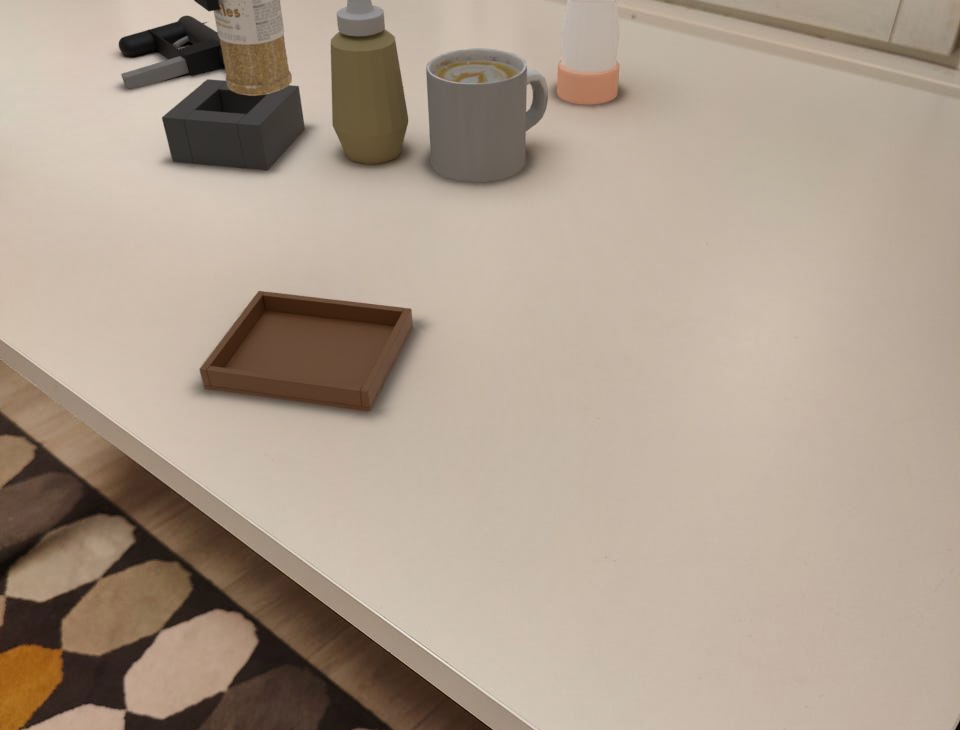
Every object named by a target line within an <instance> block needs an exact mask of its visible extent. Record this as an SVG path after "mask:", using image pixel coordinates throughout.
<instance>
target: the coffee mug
mask: <svg viewBox="0 0 960 730" xmlns="http://www.w3.org/2000/svg"><path fill="white" fill-rule="evenodd" d="M425 70H426V71H425V72H426V73H425V74H426V91H427V109H428V110H427V111H428V131H429V147H430V148H429V149H430V164H431V168H432V170H434V172H435V173H437V174H438V175H440V176H442V177H444V178H446V179H449V180H451V181H452V180H453V181H456V182H463V183H489V182H490V183H491V182H495V181H496V182H497V181H501V180H504V179H507V178H511V177H513V176H514V175H516V174H518V173H519V172H521V171H522V169H524V167H525V165H526V150H527V149H526V146H527V143H526V142H527V132H528V131H529V130H530V129H532V128H534V127H535V126H536V125H537V124H538V123H539V122H540V121H541V120H542V119H543V117H544V115H545V112H546V111H547V107H548V102H549V87H548V84H547V80H546V78H545V76H544V75H543V74H542V73H541V72H540V71H538V70H536V69H533V68H528V66H527V62H526V60H525V59H524V58H522V56H520V55H518V54H515V53H513V52H510V51H507V50H502V49H497V48H496V49H495V48H482V47H481V48H479V47H476V48H475V47H473V48H461V49H455V50H450V51H447V52H444V53H441V54H438V55H436V56H434V57H432V58H431V59H430V60H429V61H428V62H427V64H426V68H425ZM528 85H529V86H531V89H532V90H531V91H532V101H531V104H530V107H529V108H528V110H527V91H528V90H527V88H528V87H527V86H528Z"/></svg>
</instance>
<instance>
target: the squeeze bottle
mask: <svg viewBox="0 0 960 730" xmlns="http://www.w3.org/2000/svg"><path fill="white" fill-rule="evenodd" d="M336 22H337V30H338V32H337V33H335V34H334V36H333V37H332V38H331V39H330V72H331V73H330V77H331V113H332V114H331V115H332V116H331V118H332V121H331V122H332V127H333V129H334V132H335V135H336V136H337V138H338V141H339V142H340V144H341V147H342V149H343V151H344V154H345V156H346V157H347V158H348V160H350V161H353V162H355V163H359V164H366V165H374V164H383V163H386V162H390V161H392V160H395V159H396V158H398V157H399V155H400V154H401V153H402V150H403V146H404V145H403V144H404V140H405V137H406V134H407V128H408V125H409V114H408V107H407V102H406V101H407V100H406V97H405V89H404V85H403V78H402V77H403V76H402V72H401V66H400V59H399V53H398V47H397V43H396V36H394V34H392V33H391V32H390V31H389V30H387V29H386V25H385V10H384V9H383V8H382V7H380V6H377V5H373V2H372V0H346V6H345V7H342V8H340V9H339V10H338V11H336Z"/></svg>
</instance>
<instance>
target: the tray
mask: <svg viewBox="0 0 960 730" xmlns="http://www.w3.org/2000/svg"><path fill="white" fill-rule="evenodd" d="M413 328H414V324H413V312H412V308H411V307H402V306H392V305H386V304H385V305H384V304H377V303H368V302H367V303H366V302H358V301H357V302H356V301H351V300H350V301H349V300H342V299H333V298H324V297H316V296H306V295H297V294H291V293H290V294H289V293H281V292H273V291H264V290H258V291H257V292H256V294H255V295H254V296H253V297H252V299H250V302H249V303H248V305H247V306H246V307H245V308H244V310H243V311H242V312H241V313H240V314H239V316H238V317H237V319H236V320H235V321H234V323H233V324H232V326H231V327H230V328H229V329H228V331H226V333H225V334H224V336H223V337H222V338H221V340H220V341H219V342H218V343H217V345H216V347H214V349H213V350H212V352H210V354H209V356H208V357H207V358H206V359H205V361H204V362H203V363H202V365H201V366H200V368H199V372H200V378H201V381H202V384H203V388H204V389H205V390H213V391H220V392H227V393H234V394H241V395H242V394H243V395H250V396H256V397H263V398H271V399H279V400H285V401H293V402H300V403H307V404H315V405H321V406H322V405H323V406H328V407H335V408H343V409H351V410H358V411H365V412H371V411H372V409H373V407H374V405H375V403H376V401H377V399H378V397H379V396H380V393H381V391H382V389H383V387H384V385H385V384H386V381H387V380H388V377H389V375H390V373H391V371H392V369H393V368H394V366H395V364H396V362H397V360H398V359H399V356H400V354H401V352H402V350H403V348H404V347H405V344H406V342H407V340H408V338H409V337H410V334H411V332H412V330H413Z"/></svg>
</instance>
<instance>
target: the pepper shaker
mask: <svg viewBox="0 0 960 730" xmlns="http://www.w3.org/2000/svg"><path fill="white" fill-rule="evenodd" d="M565 7H566V8H565V13H564V19H563V23H562V28H561V29H562V30H561V44H560V45H561V53H560V55H561V58H560V60H559V61H558V64H557V71H556V72H557V73H556V74H557V76H556V78H557V79H556V95H557V96H558V98H560V99H561V100H563V101H564V102H567V103H571V104H577V105H590V106H591V105H601V104H604V103H608V102H611V101H612V100H614V99H615V98H617V96H618V90H619V79H620V78H619V77H620V63H619V61H618V53H619V52H618V51H619V41H620V21H619V19H620V18H619V5H618V0H567V3H566V6H565Z"/></svg>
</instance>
